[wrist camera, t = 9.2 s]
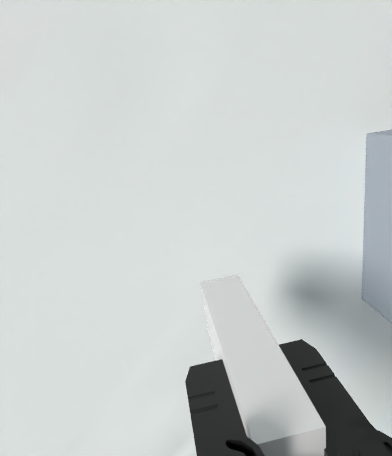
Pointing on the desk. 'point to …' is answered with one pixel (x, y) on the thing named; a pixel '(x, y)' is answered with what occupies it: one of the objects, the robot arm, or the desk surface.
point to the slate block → (378, 224)
